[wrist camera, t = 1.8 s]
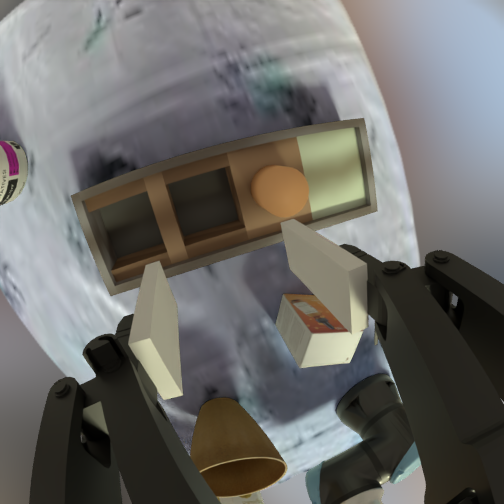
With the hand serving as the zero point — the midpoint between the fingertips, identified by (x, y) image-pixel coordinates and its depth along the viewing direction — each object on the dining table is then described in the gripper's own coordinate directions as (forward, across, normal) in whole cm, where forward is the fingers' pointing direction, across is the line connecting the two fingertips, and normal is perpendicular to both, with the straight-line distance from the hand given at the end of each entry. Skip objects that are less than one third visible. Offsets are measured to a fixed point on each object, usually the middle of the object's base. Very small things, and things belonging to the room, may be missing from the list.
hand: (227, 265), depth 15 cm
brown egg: (+16, -8, 0) cm, 18 cm away
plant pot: (+21, +8, +36) cm, 43 cm away
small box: (+21, -10, +20) cm, 31 cm away
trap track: (+21, -4, 0) cm, 21 cm away
